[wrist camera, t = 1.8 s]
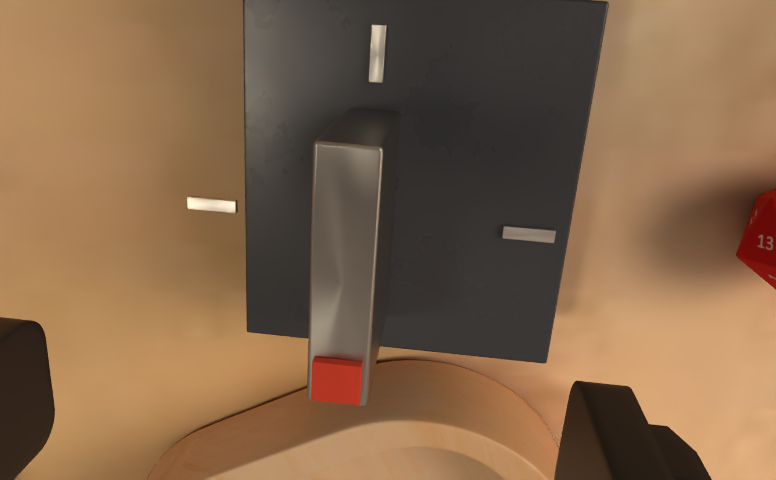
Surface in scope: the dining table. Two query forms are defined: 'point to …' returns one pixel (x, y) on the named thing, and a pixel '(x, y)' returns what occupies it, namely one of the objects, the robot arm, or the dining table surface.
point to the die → (761, 238)
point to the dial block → (424, 158)
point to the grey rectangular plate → (350, 252)
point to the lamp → (377, 434)
